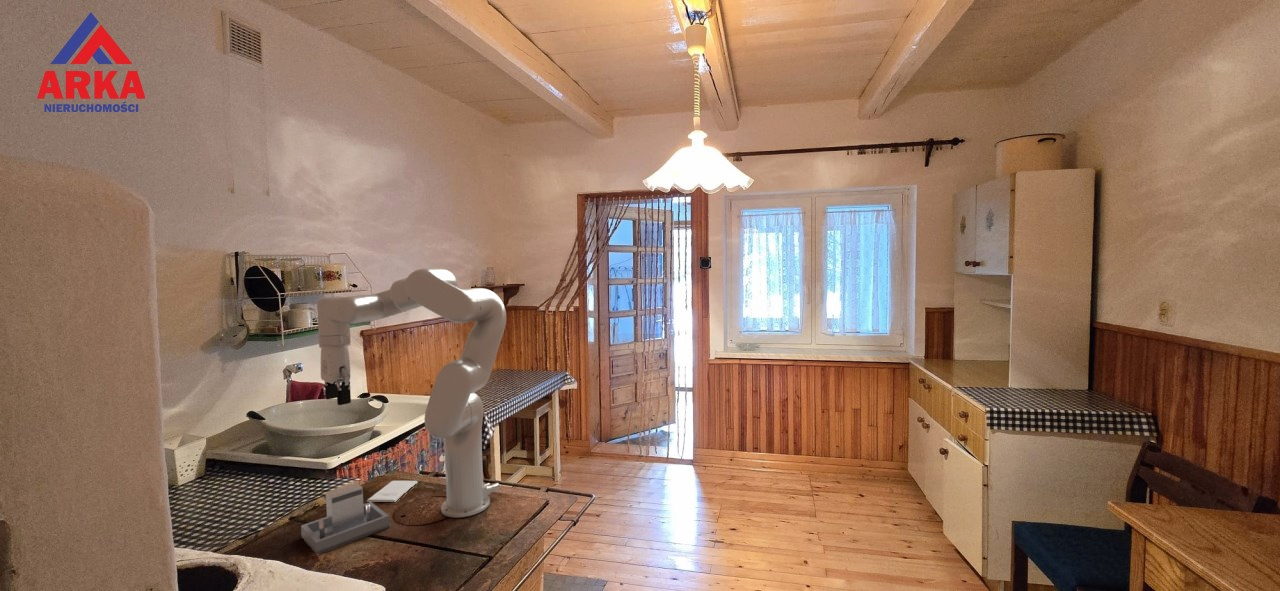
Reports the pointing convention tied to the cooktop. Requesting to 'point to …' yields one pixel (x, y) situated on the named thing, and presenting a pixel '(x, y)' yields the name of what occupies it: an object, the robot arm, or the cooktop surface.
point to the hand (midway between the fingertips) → (338, 401)
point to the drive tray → (323, 541)
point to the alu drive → (344, 508)
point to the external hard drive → (392, 491)
